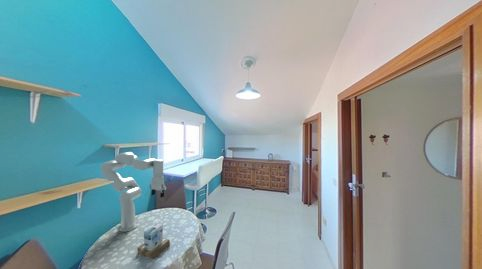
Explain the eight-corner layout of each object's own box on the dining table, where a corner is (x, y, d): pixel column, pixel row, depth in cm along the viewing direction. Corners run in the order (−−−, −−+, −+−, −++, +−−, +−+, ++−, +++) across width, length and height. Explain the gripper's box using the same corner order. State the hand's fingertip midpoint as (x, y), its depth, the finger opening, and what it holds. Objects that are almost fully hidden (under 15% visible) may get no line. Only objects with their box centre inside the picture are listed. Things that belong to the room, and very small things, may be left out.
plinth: (137, 253, 113) (137, 247, 113) (154, 240, 126) (154, 235, 126) (153, 259, 108) (153, 252, 108) (169, 245, 121) (169, 239, 121)
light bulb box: (152, 249, 111) (151, 233, 111) (143, 247, 113) (143, 231, 112) (163, 238, 122) (163, 224, 121) (155, 237, 123) (155, 223, 123)
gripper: (146, 174, 136) (145, 195, 137) (162, 177, 129) (162, 199, 130) (154, 172, 143) (153, 192, 143) (169, 175, 136) (169, 196, 137)
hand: (157, 195), depth 137 cm, fingers open, 9 cm apart
